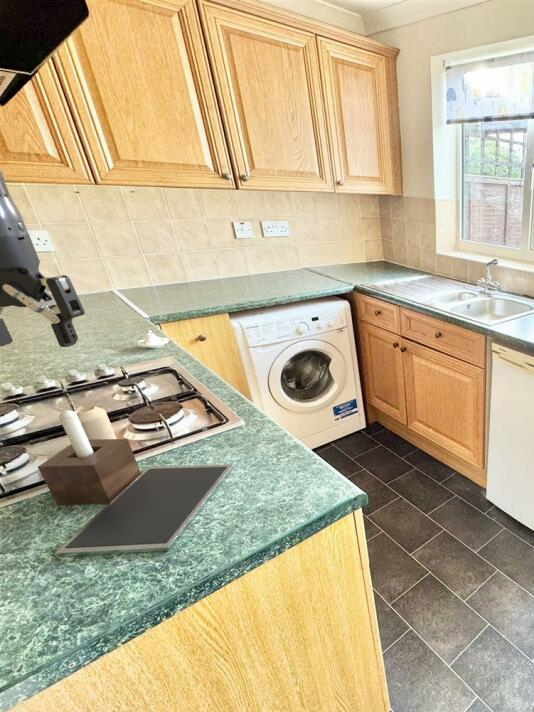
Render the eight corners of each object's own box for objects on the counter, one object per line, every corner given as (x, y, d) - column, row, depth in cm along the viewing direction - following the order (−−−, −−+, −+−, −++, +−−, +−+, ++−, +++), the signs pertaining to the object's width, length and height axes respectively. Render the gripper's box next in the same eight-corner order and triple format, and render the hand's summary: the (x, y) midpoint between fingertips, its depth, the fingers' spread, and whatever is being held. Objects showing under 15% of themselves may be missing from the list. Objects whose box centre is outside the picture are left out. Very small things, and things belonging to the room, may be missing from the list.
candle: (83, 450, 84) (63, 407, 80) (119, 441, 88) (102, 399, 83) (82, 463, 80) (62, 418, 76) (120, 453, 84) (103, 409, 80)
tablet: (56, 557, 61) (54, 552, 61) (149, 469, 80) (148, 466, 80) (169, 551, 63) (168, 546, 63) (234, 467, 82) (233, 463, 82)
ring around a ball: (135, 352, 130) (168, 349, 133) (129, 335, 127) (162, 332, 131) (141, 345, 136) (171, 342, 140) (135, 328, 134) (167, 326, 137)
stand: (57, 505, 70) (37, 466, 67) (93, 476, 77) (77, 439, 74) (110, 503, 71) (93, 465, 68) (141, 474, 79) (127, 438, 75)
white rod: (91, 493, 73) (53, 414, 66) (99, 486, 75) (63, 408, 68) (104, 492, 74) (67, 414, 67) (112, 485, 75) (77, 408, 68)
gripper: (-111, 231, 52) (-45, 353, 59) (21, 236, 54) (70, 354, 61) (-46, 226, 58) (6, 336, 65) (69, 231, 60) (108, 337, 67)
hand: (37, 345), depth 63 cm, fingers open, 8 cm apart
